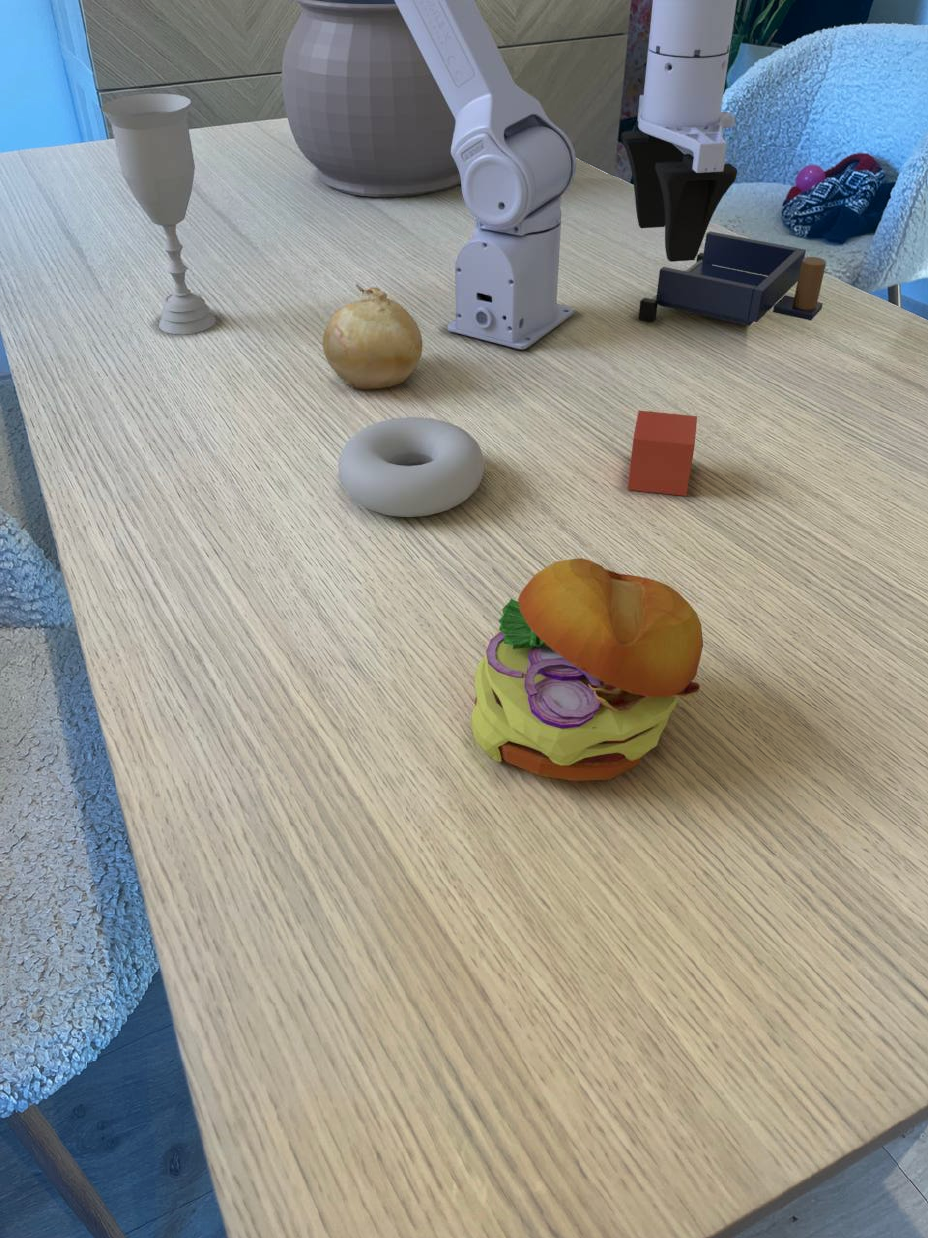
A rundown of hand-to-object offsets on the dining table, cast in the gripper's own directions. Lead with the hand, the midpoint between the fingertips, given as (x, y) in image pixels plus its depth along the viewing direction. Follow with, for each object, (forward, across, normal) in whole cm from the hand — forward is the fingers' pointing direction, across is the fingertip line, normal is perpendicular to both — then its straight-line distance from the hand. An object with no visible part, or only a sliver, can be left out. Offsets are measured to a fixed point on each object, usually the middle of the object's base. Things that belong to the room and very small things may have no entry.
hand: (665, 242), depth 81 cm
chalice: (+9, +12, +40) cm, 43 cm away
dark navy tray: (+8, +7, -11) cm, 15 cm away
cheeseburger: (+9, -42, +17) cm, 46 cm away
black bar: (+9, +11, -6) cm, 16 cm away
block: (+9, -20, +6) cm, 23 cm away
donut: (+9, -18, +23) cm, 31 cm away
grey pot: (+9, +54, +17) cm, 57 cm away
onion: (+9, -1, +24) cm, 26 cm away
